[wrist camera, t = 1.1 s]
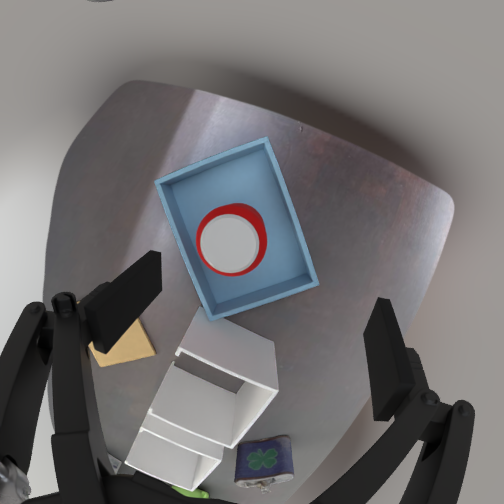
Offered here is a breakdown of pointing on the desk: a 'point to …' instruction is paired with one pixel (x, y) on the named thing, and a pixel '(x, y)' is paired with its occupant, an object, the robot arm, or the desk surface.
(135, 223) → the desk surface
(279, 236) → the bin
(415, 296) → the desk surface
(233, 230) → the beverage can
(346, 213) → the desk surface
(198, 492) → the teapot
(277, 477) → the flask
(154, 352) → the mat
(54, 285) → the desk surface
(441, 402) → the robot arm
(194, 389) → the storage container
